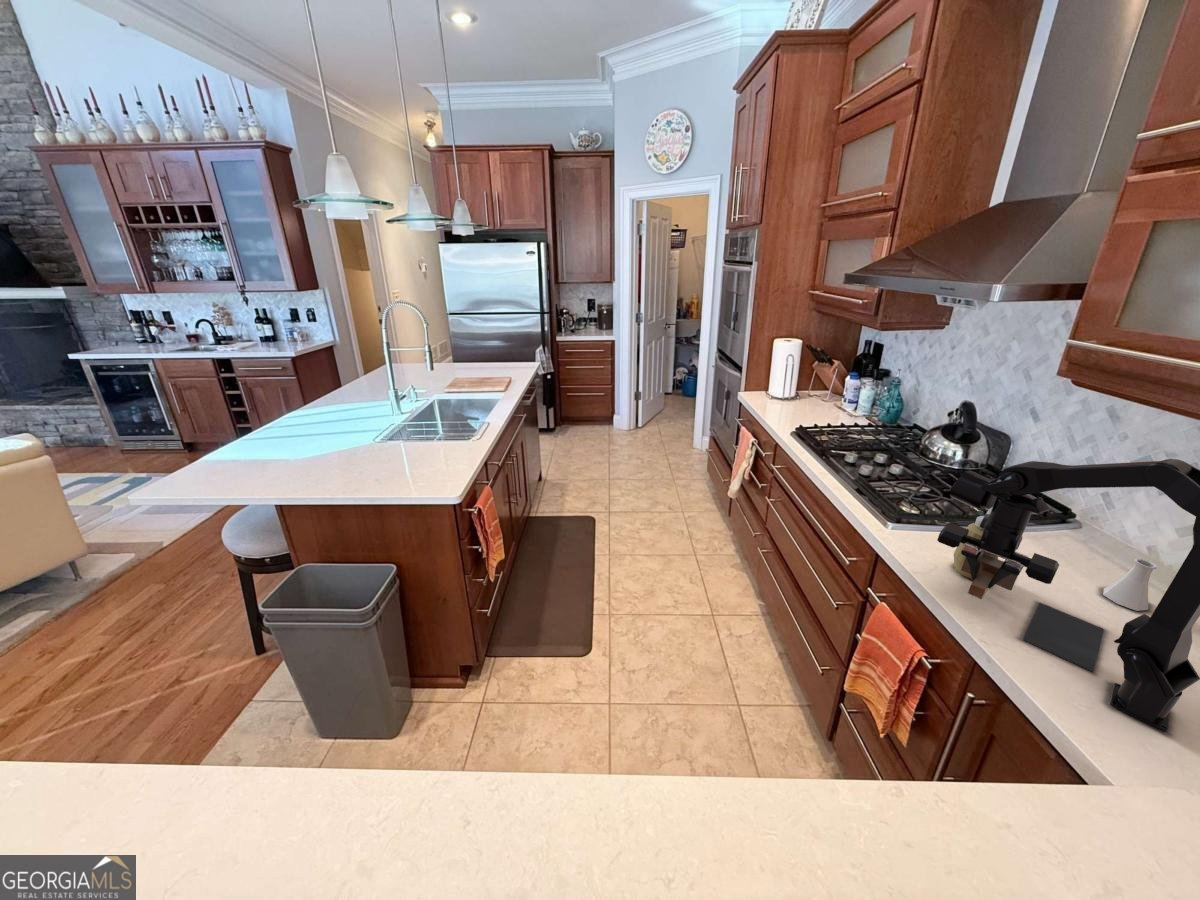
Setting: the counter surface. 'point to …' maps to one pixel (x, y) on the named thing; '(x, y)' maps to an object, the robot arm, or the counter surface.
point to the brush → (987, 576)
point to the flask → (1132, 586)
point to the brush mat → (1065, 636)
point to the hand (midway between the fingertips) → (981, 584)
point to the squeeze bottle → (958, 557)
